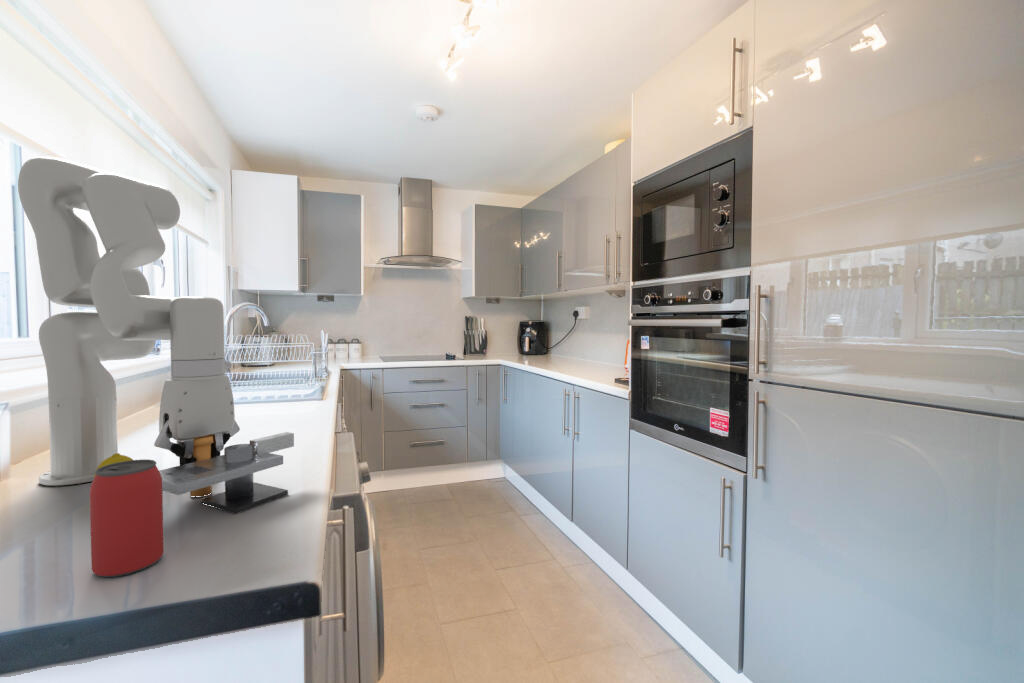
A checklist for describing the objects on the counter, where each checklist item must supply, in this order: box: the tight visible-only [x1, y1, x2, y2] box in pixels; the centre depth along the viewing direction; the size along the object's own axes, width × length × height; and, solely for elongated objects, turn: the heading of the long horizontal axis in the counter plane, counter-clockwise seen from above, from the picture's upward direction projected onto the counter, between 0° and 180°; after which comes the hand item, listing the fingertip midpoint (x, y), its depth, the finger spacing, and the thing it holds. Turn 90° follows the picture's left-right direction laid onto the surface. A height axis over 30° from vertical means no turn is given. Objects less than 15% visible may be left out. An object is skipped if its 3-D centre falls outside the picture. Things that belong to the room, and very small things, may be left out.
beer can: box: [89, 459, 165, 578], centre depth 54 cm, size 7×7×12 cm
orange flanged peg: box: [189, 435, 214, 497], centre depth 78 cm, size 4×4×10 cm
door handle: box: [159, 431, 295, 515], centre depth 73 cm, size 10×21×9 cm, turn 153°
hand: (200, 475), depth 78 cm, fingers closed on orange flanged peg, 3 cm apart
